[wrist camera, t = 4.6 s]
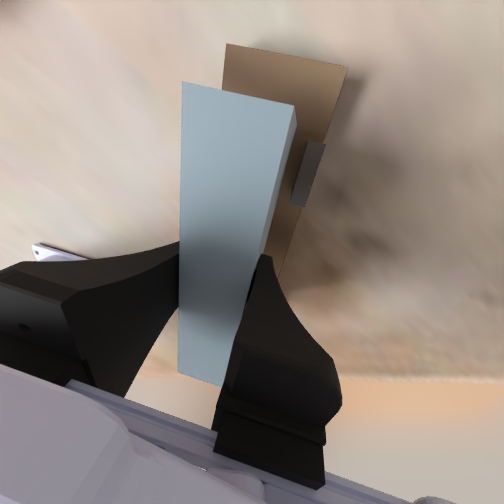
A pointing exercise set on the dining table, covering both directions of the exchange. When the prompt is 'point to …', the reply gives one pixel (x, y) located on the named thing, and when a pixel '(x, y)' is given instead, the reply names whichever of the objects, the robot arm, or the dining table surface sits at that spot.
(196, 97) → the pale blue rectangular block
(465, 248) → the dining table surface
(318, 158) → the rail
